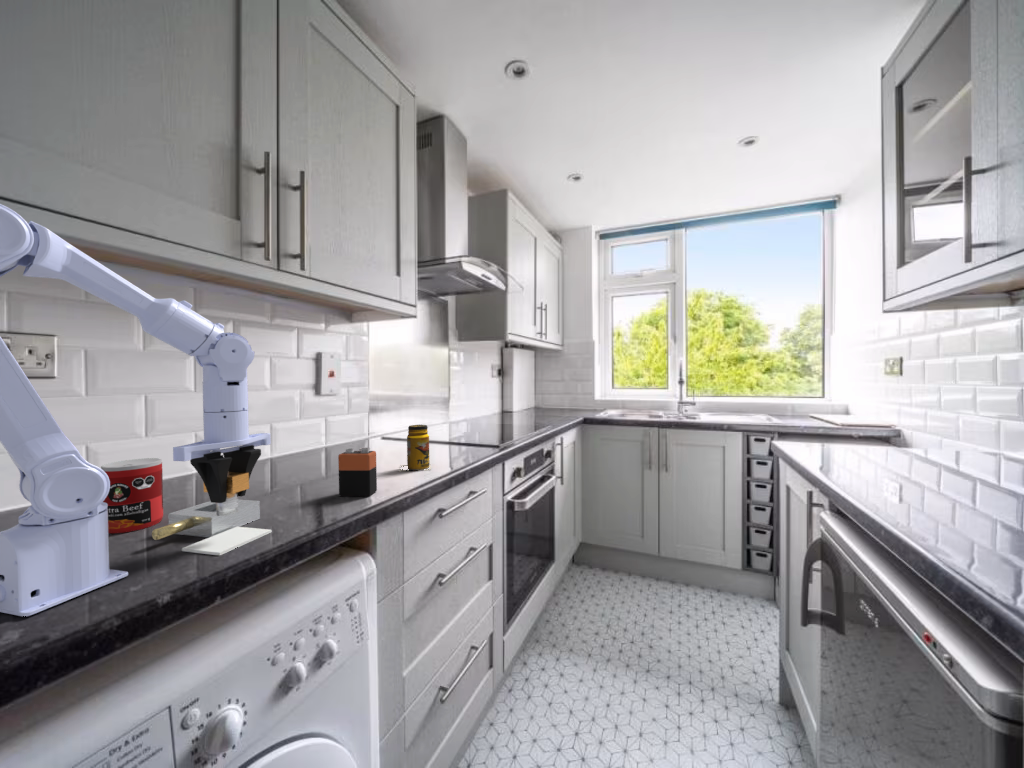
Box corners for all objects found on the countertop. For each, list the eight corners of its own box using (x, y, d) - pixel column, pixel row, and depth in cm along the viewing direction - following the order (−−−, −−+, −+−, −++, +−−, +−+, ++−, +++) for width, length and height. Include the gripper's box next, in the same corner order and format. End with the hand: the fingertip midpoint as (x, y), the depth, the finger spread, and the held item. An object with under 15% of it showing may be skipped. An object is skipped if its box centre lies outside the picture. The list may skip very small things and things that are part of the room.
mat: (219, 555, 58) (219, 552, 58) (181, 551, 60) (181, 548, 60) (271, 532, 67) (271, 529, 67) (237, 528, 68) (237, 526, 68)
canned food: (89, 536, 66) (88, 468, 66) (122, 520, 74) (120, 459, 73) (146, 531, 68) (145, 465, 68) (172, 515, 76) (171, 456, 75)
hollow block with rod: (179, 550, 60) (178, 529, 60) (133, 545, 62) (133, 524, 62) (259, 518, 73) (259, 500, 73) (220, 515, 76) (220, 498, 75)
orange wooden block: (250, 510, 64) (248, 472, 64) (233, 516, 61) (232, 476, 61) (221, 509, 65) (220, 471, 65) (204, 514, 62) (203, 475, 62)
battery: (369, 497, 86) (368, 450, 86) (338, 497, 86) (337, 450, 86) (377, 491, 90) (376, 446, 90) (347, 491, 91) (346, 446, 91)
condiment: (431, 470, 111) (430, 426, 111) (398, 472, 109) (397, 427, 109) (430, 464, 118) (430, 423, 118) (400, 466, 116) (399, 424, 116)
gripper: (246, 407, 71) (248, 485, 71) (155, 415, 57) (158, 512, 57) (280, 407, 69) (282, 487, 69) (194, 415, 55) (197, 515, 55)
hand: (228, 498), depth 63 cm, fingers closed on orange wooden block, 3 cm apart
